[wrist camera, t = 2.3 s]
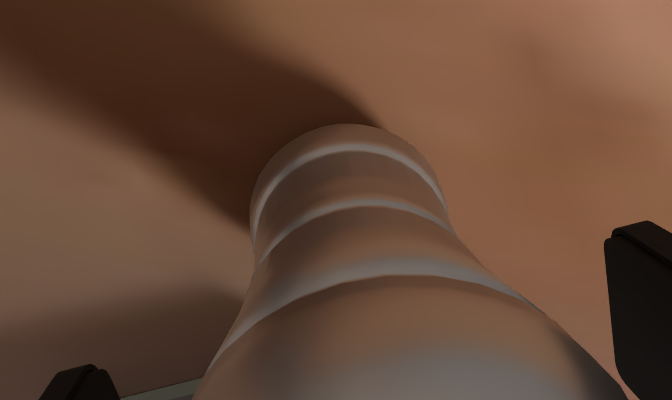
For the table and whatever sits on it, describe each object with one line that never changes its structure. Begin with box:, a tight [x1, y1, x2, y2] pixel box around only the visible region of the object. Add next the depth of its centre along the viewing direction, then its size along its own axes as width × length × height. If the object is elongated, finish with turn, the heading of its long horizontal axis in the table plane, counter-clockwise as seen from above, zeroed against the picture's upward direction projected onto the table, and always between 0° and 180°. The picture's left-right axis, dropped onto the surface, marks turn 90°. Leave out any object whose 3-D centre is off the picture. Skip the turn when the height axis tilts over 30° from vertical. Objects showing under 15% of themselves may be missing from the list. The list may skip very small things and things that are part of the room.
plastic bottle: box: [192, 124, 628, 400], centre depth 12 cm, size 6×7×20 cm
